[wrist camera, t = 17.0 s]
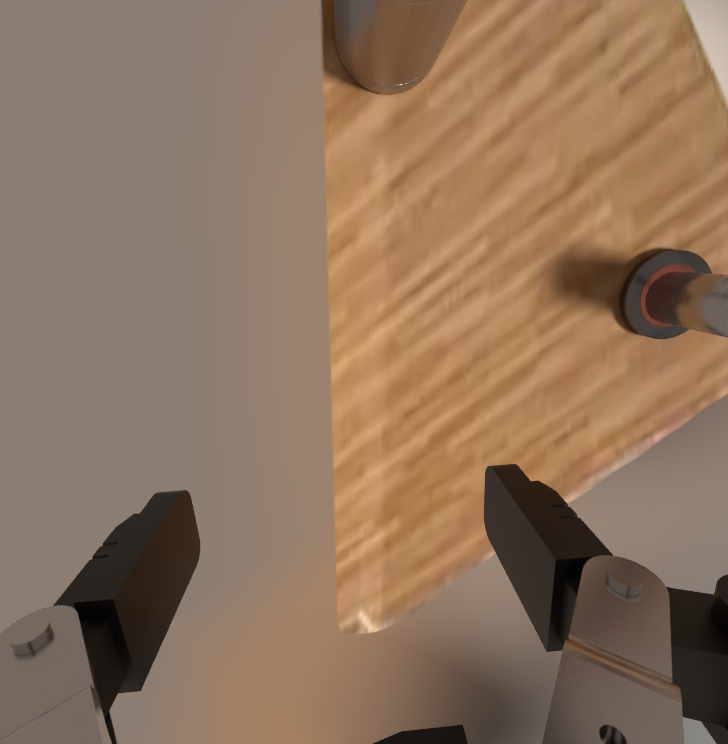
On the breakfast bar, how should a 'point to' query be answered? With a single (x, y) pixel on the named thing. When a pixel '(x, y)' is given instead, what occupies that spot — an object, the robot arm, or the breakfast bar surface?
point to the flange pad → (641, 283)
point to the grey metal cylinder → (690, 301)
